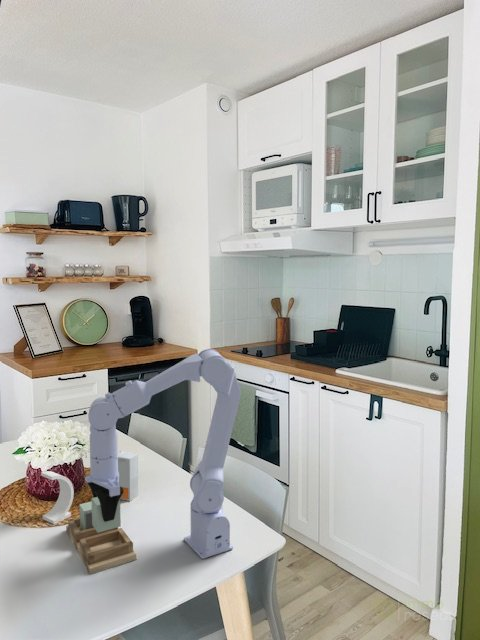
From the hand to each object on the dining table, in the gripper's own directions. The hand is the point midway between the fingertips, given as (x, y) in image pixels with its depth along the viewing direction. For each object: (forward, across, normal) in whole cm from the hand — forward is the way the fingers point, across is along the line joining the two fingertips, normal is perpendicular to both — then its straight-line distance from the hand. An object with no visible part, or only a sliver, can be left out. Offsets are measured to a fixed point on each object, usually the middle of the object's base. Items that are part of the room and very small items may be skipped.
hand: (105, 515), depth 110 cm
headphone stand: (+9, -23, -5) cm, 25 cm away
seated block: (+8, -10, 0) cm, 13 cm away
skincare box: (+9, -25, +13) cm, 30 cm away
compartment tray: (+9, -5, 0) cm, 10 cm away
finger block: (+2, 0, 0) cm, 2 cm away
